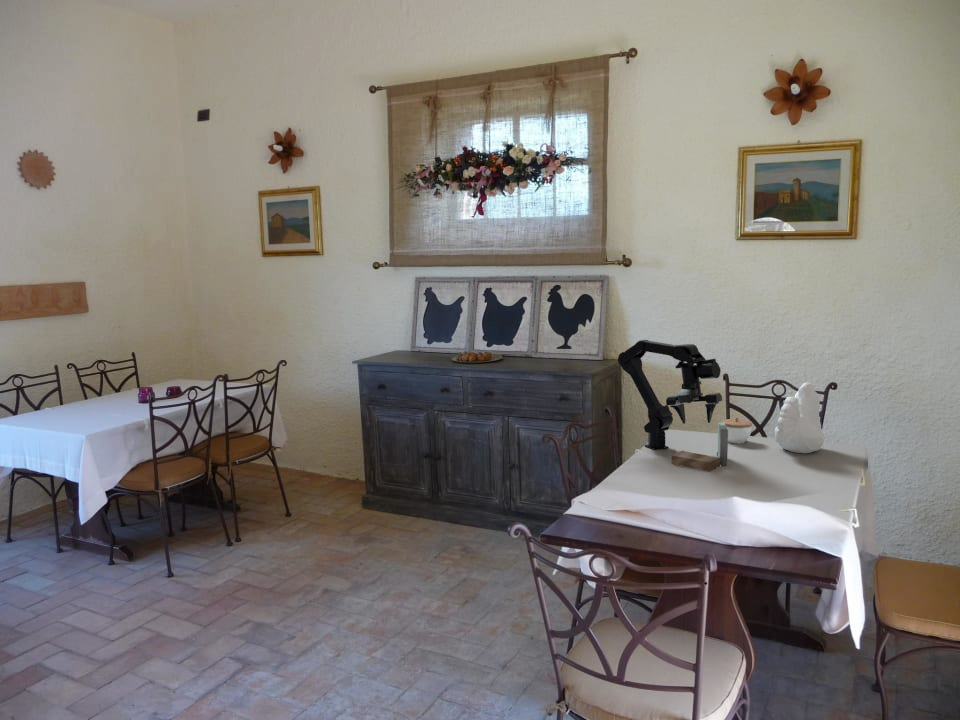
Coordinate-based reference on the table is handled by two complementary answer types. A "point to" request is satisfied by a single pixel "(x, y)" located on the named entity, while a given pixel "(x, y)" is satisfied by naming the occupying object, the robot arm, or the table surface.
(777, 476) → the table surface
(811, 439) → the decorative rooster
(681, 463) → the stool seat
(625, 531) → the table surface
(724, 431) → the green rectangular panel
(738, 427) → the lidded jar
